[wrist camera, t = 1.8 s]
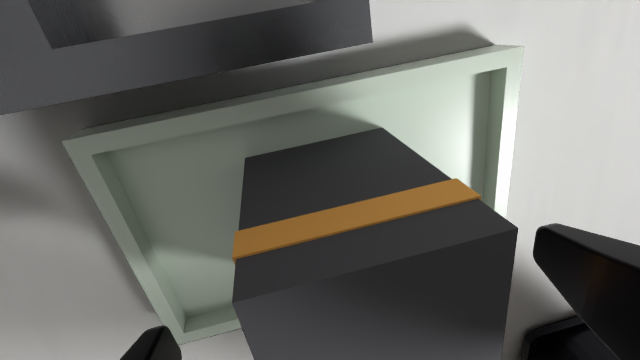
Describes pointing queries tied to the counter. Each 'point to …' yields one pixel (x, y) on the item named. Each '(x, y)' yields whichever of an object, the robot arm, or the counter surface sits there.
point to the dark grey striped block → (368, 256)
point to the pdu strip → (157, 42)
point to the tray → (272, 135)
